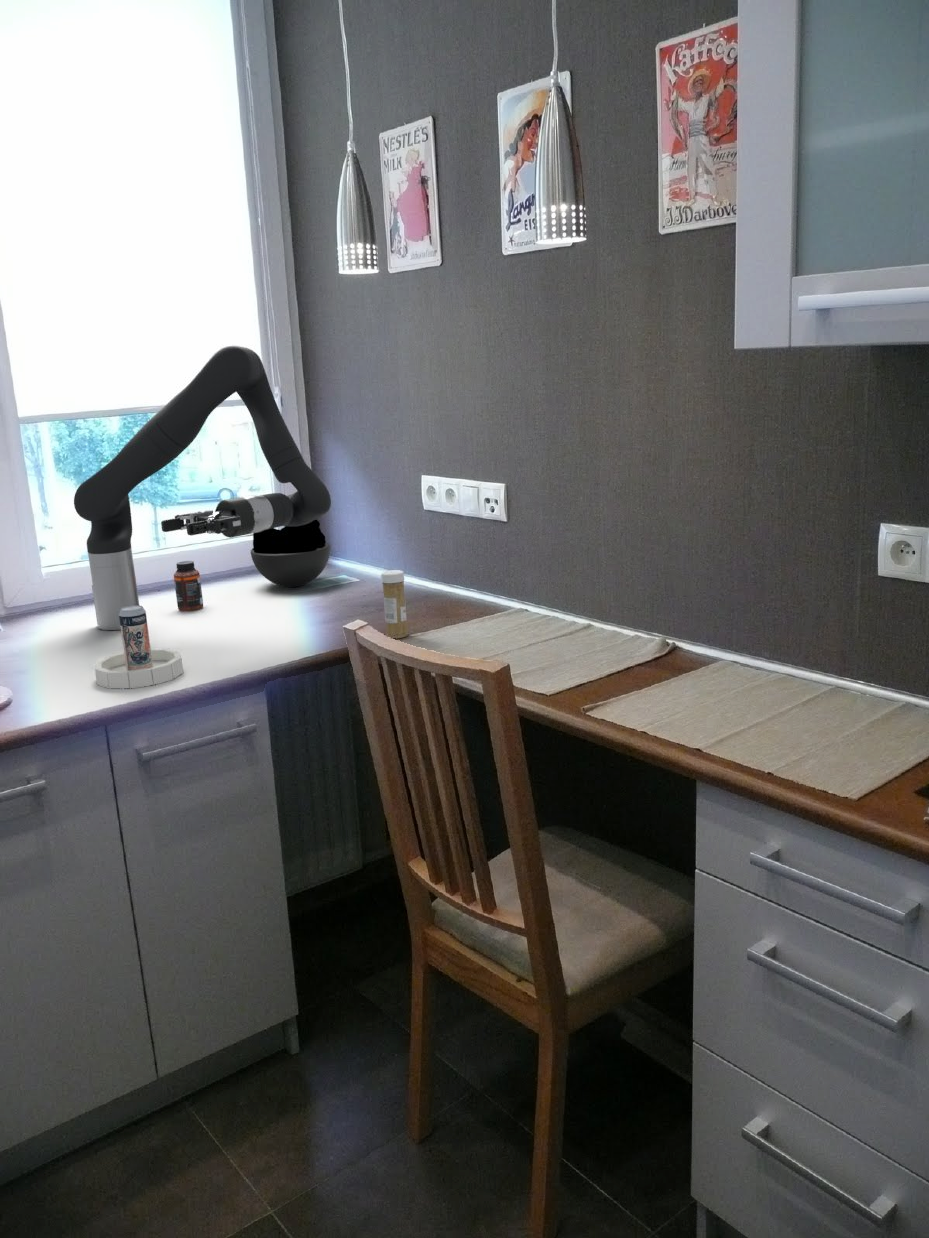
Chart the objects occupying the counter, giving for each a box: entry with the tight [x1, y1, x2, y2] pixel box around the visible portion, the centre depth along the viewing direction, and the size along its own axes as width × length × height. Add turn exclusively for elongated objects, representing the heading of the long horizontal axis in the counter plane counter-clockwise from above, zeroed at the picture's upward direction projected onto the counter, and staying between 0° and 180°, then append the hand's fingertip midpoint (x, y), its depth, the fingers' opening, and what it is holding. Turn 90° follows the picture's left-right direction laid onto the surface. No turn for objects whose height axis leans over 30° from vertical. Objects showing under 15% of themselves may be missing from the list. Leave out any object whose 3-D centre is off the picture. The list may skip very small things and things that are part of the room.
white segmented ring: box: [94, 648, 184, 690], centre depth 193 cm, size 15×15×3 cm
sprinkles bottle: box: [380, 569, 409, 640], centre depth 209 cm, size 5×5×14 cm
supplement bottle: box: [173, 560, 204, 612], centre depth 243 cm, size 6×6×11 cm
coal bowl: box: [250, 519, 331, 588], centre depth 261 cm, size 20×20×19 cm
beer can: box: [119, 604, 153, 671], centre depth 192 cm, size 5×5×12 cm
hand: (175, 528), depth 196 cm, fingers open, 8 cm apart
